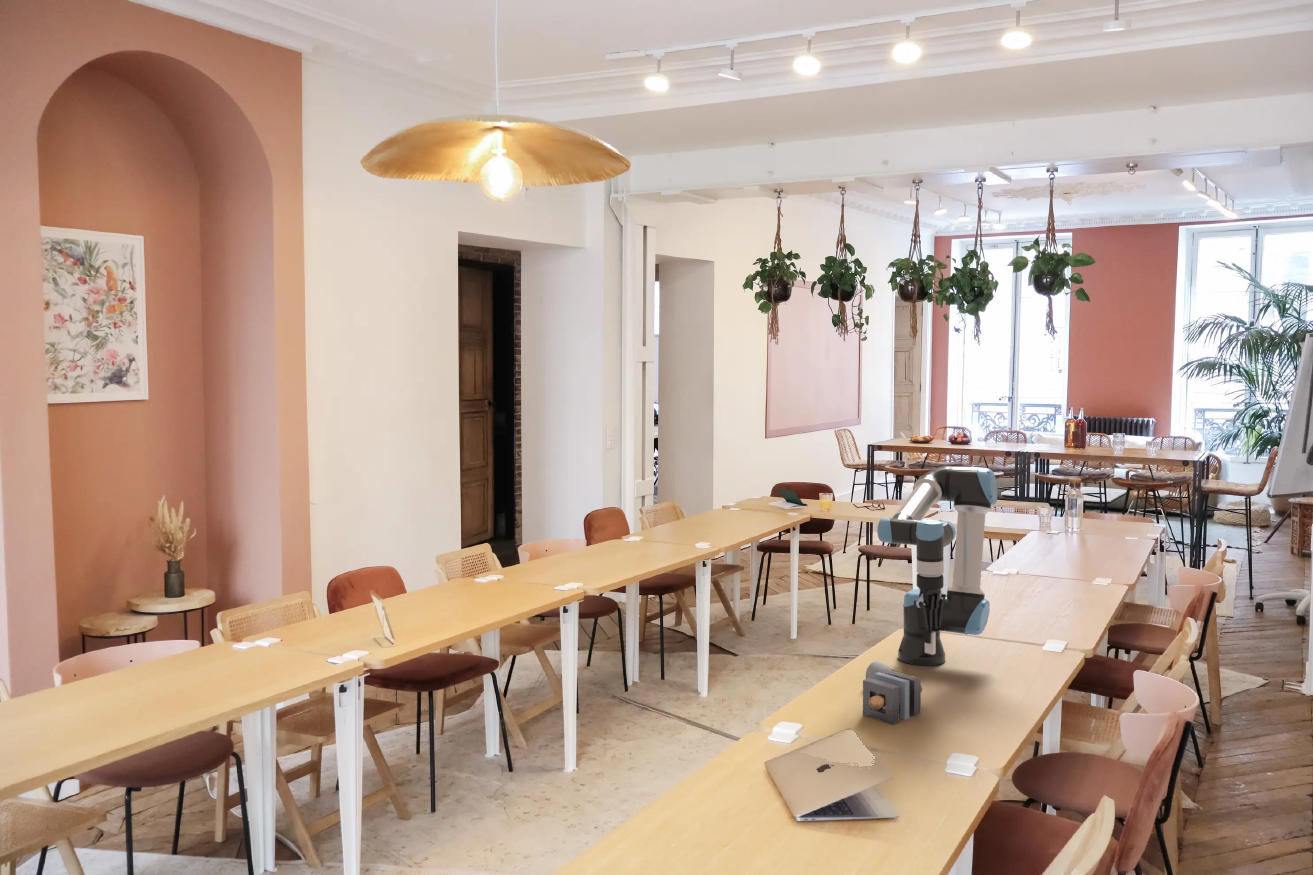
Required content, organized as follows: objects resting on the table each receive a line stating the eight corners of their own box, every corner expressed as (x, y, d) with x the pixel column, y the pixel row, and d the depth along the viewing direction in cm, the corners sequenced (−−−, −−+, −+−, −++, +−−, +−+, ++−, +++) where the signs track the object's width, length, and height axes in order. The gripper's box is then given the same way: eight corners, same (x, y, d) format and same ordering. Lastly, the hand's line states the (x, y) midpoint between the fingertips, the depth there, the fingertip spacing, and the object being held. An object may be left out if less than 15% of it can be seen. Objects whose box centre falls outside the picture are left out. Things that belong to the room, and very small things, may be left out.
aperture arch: (879, 708, 279) (879, 672, 278) (909, 717, 271) (909, 680, 270) (874, 710, 277) (874, 673, 277) (904, 719, 270) (905, 682, 269)
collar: (869, 712, 276) (869, 677, 275) (899, 721, 268) (899, 686, 267) (862, 714, 274) (862, 680, 273) (892, 724, 266) (892, 688, 265)
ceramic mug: (885, 694, 290) (886, 669, 289) (864, 687, 297) (865, 662, 296) (909, 688, 296) (909, 663, 296) (888, 681, 303) (888, 656, 302)
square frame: (891, 703, 282) (891, 670, 281) (920, 713, 275) (920, 678, 274) (884, 706, 280) (884, 672, 279) (914, 715, 273) (914, 680, 272)
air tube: (910, 692, 283) (910, 678, 283) (922, 695, 280) (922, 681, 280) (867, 708, 270) (867, 694, 270) (879, 712, 267) (879, 698, 267)
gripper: (931, 567, 290) (932, 645, 292) (905, 575, 282) (906, 655, 284) (954, 571, 284) (954, 650, 287) (927, 580, 276) (928, 661, 278)
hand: (930, 652), depth 285 cm, fingers closed
